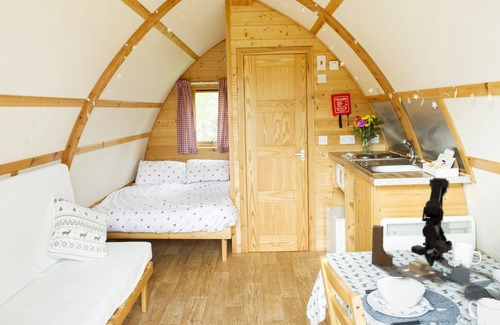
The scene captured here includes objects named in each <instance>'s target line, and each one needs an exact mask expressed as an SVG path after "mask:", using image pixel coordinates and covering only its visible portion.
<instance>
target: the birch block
mask: <svg viewBox="0 0 500 325" xmlns="http://www.w3.org/2000/svg"><path fill="white" fill-rule="evenodd" d="M408 262H409V263H408V264H409V271H412V272H414V273H416V274H418V275H420V274H425V273H429V267H430V264H429V263H428V262H427V261H423V260H421V259H417V260H412V261H411V260H410V261H408Z"/></svg>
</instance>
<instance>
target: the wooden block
mask: <svg viewBox="0 0 500 325" xmlns="http://www.w3.org/2000/svg"><path fill="white" fill-rule="evenodd" d="M371 230H372V232H371V265H377V266H385V267H386V266H387V267H392V266H393V265H394V264H393V263H394V259H393V258H394V255H393V254H390V253H387V252H386V250H385V248H384V225H379V224H378V225H377V224H375V225H373V226H372V229H371Z"/></svg>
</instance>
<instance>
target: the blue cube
mask: <svg viewBox="0 0 500 325" xmlns="http://www.w3.org/2000/svg"><path fill="white" fill-rule="evenodd" d="M450 270H451V271H450V272H451V273H450V279H451V281H455V282H456V283H459V284H463V283H469V282H470V281H471V280H470V278H471V270H468V269H466V268H464V267H461V266H459V267H458V266H457V267H453V268H451V269H450Z"/></svg>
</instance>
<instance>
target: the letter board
mask: <svg viewBox="0 0 500 325" xmlns="http://www.w3.org/2000/svg"><path fill="white" fill-rule="evenodd" d="M389 269H390V270H392V271H394V272H396V273H399V274H401V275H403V276H405V277H408V278H410V279H411V278H412V280H413V279H415V280H414V281H416V280H417V281H416V282H418V281H419V282H418V283H420V282H424V281H429V280H433V279H438V278H443V277H445V276H444V275H443V272H444V271H442V270H439V269H437V268H435V267H433V266H432V267H429V273H425V274H420V275H418V274H416V273H414V272H412V271H409V263H408V264H404V265H398V266H394V267H392V266H391V267H389Z"/></svg>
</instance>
